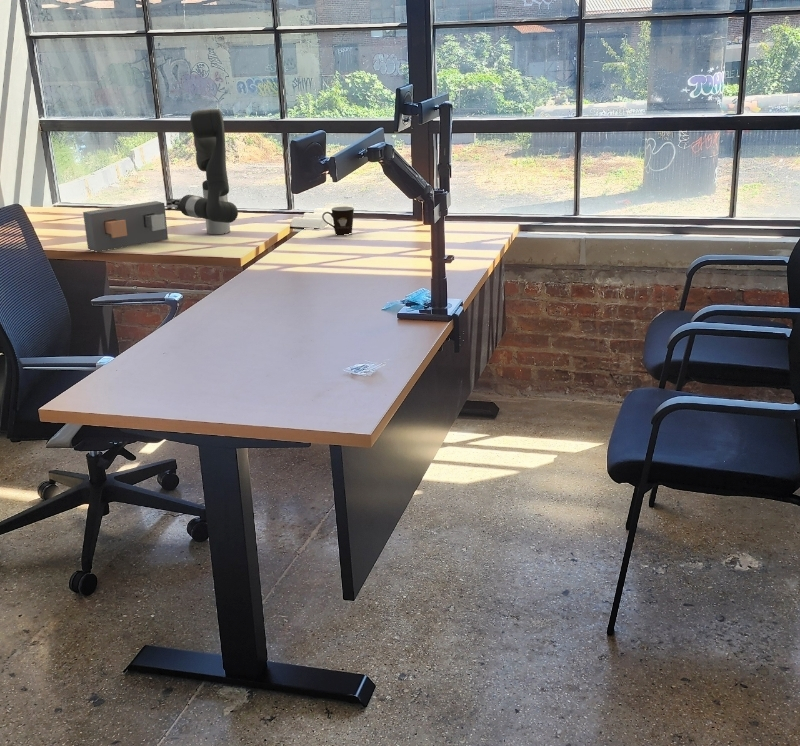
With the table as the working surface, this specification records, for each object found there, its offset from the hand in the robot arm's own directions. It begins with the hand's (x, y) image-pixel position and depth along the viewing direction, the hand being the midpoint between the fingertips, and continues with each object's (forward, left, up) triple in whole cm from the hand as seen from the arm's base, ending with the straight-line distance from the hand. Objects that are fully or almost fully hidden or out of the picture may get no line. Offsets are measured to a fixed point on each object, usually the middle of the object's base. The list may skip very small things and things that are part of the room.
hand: (169, 201), depth 333 cm
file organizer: (-48, +51, -18) cm, 72 cm away
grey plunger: (-10, -10, -12) cm, 19 cm away
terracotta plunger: (+1, -22, -12) cm, 25 cm away
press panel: (-8, -19, -17) cm, 27 cm away
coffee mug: (-22, +60, -17) cm, 66 cm away
